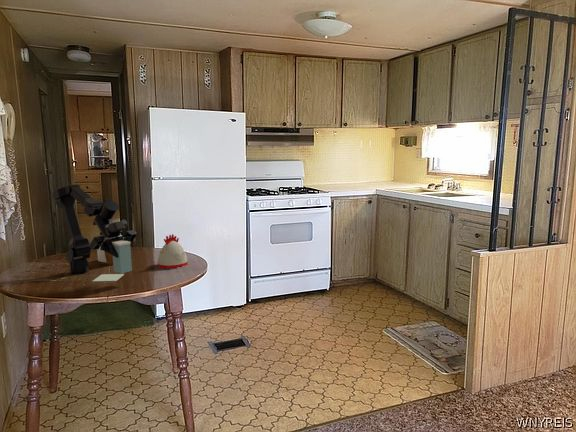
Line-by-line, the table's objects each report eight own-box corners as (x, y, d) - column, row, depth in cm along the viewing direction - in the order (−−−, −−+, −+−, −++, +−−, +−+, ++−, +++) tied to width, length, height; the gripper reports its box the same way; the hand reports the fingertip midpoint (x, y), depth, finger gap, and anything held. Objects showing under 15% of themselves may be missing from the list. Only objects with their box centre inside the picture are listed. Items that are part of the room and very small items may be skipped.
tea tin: (113, 271, 172) (111, 242, 170) (124, 268, 176) (122, 240, 174) (121, 273, 169) (119, 244, 167) (132, 270, 173) (130, 241, 171)
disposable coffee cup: (123, 265, 204) (121, 240, 202) (102, 266, 201) (100, 242, 200) (125, 260, 213) (123, 237, 211) (104, 261, 210) (102, 238, 209)
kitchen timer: (152, 266, 202) (150, 235, 200) (175, 260, 213) (173, 230, 211) (170, 270, 194) (168, 238, 192) (193, 264, 205) (192, 233, 202)
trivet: (92, 281, 178) (92, 281, 178) (101, 274, 188) (101, 274, 188) (116, 281, 178) (116, 280, 178) (124, 274, 188) (124, 273, 188)
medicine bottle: (119, 259, 214) (117, 236, 212) (106, 263, 208) (104, 239, 207) (110, 258, 218) (108, 235, 216) (97, 261, 212) (95, 237, 210)
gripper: (91, 216, 164) (110, 248, 159) (133, 211, 179) (151, 239, 174) (82, 234, 169) (99, 265, 165) (123, 227, 184) (140, 255, 180)
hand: (123, 255), depth 171 cm, fingers closed on tea tin, 5 cm apart
